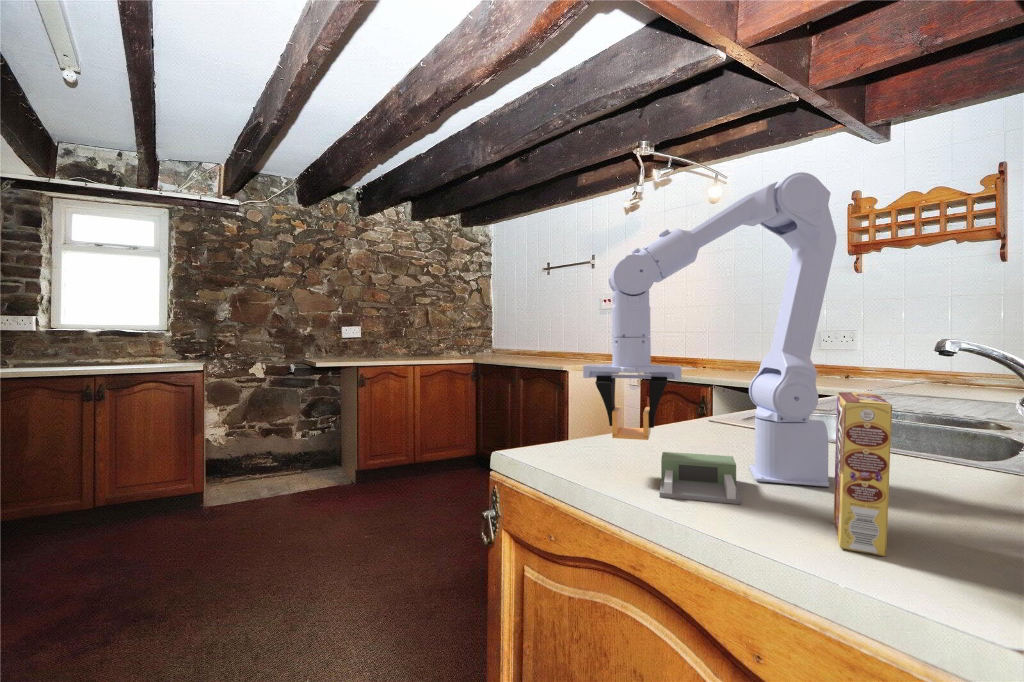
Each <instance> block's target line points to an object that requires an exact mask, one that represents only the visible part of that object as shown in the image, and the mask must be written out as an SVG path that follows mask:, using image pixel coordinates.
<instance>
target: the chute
mask: <svg viewBox="0 0 1024 682" xmlns="http://www.w3.org/2000/svg"><path fill="white" fill-rule="evenodd" d="M649 410H650V406H645V408H644V410H643V413H642V421H643V422H642V424H643V425H642V427H641V428H640V427H626V426H625V427H623V426H622V405H615V409H614V410H613V411H612V426H611V428H612V429H611V431H612V434H611V435H612V439H622V440H623V439H624V440H640V441H641V440H642V441H649V440H650V439H649V438H650V437H651V436H650V435H651V429H652V428H649Z"/></svg>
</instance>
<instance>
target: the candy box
mask: <svg viewBox="0 0 1024 682" xmlns="http://www.w3.org/2000/svg"><path fill="white" fill-rule="evenodd" d="M836 399H837V402H836V429H835V456H834V457H835V464H834V489H833V491H834V494H833V495H834V498H833V500H834V501H833V523H834V528H835V532H836V536H837V542H838V546H839V548H840V549H843V550H848V551H853V552H857V553H862V554H868V555H874V556H880V557H886V556H887V545H888V544H887V542H888V539H887V538H888V523H889V522H888V521H889V520H888V518H889V517H888V515H889V514H888V513H889V496H890V495H889V494H890V493H889V491H890V487H889V486H890V465H891V464H890V463H891V442H892V441H891V438H892V437H891V436H892V424H893V423H892V419H893V404H891V403H890V402H889V401H887V400H886V399H885V398H883V397H882V396H881V395H879V394H877V393H876V394H875V393H870V392H852V391H850V392H843V391H842V392H841V391H840V392H837V397H836Z"/></svg>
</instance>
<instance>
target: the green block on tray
mask: <svg viewBox="0 0 1024 682" xmlns="http://www.w3.org/2000/svg"><path fill="white" fill-rule="evenodd" d="M660 463H661V467H660V468H661V469H660V470H661V471H660V473H661V475H660V477H661V478H660V479H661V480H660V487H659V498H665V499H666V498H667V499H676V500H677V499H678V500H688V501H689V500H690V501H700V502H710V503H719V504H720V503H723V504H730V505H731V504H734V505H742V504H741V503H742V501H741V500H742V499H741V497H740V494H739V490H738V487H737V463H736V461H735V458H734V456H732V455H720V454H717V455H716V454H701V453H687V452H686V453H685V452H675V451H674V452H671V451H662V454H661V462H660Z"/></svg>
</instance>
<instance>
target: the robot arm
mask: <svg viewBox="0 0 1024 682" xmlns="http://www.w3.org/2000/svg"><path fill="white" fill-rule="evenodd" d="M830 199H831V191H830V190H829V189H828V188H827V187H826V186H825V185H824V183H822V182H821V181H820V179H819V178H817V176H815V175H813V174H811V173H809V172H803V171H802V172H795V173H792V174H790V175H788V176H787V177H784V178H783V180H782V181H780V182H779V181H775V182H773V183H770V184H768V185H766V186H764V187H762V188H759V189H758V190H755V191H752V192H750V193H749V194H747V195H745V196H743V197H741V198H740V199H738V200H737V201H735V202H734V203H732V204H730V205H729V206H727V207H725V208H724V209H722V210H720V211H718V212H717V213H715V214H714V215H712V216H711V217H709V218H708V219H706V220H704V221H703V222H701V223H700V224H698V225H696V226H695V227H694V228H692V229H690V230H683V229H681V228H674V229H672V230H671V231H670V230H669V229H667V228H666V229H665V230H663V231H662V232H660V233H659V234H658V236H659V238H658V239H656V240H654V241H652V242H651V243H649V244H647V245H645V246H644V247H642V248H641V249H640V248H639V247H637V248H635V249H633V250H631V254H627V255H626V256H625V257H624V258H623V259H621V260H620V261H619V262H618V263H617V264H616V265H615V266H613V268H612V270H610V271H611V272H610V275H609V278H608V285H609V286H610V289H611V291H612V297H611V300H612V307H611V342H612V343H611V350H612V354H611V357H612V360H611V361H612V362H611V363H612V364H585V365H583V366H582V368H583V369H582V370H583V373H582V375H583V376H582V378H583V379H591V378H592V379H593V378H594V379H596V380H595V386H596V388H597V390H598V392H599V394H600V396H601V399H602V401H603V404H604V406H605V410H606V414H607V419H608V424H609V425H608V426H609V427H612V411H613V410H614V409H615V407H616V403H615V402H616V399H615V398H616V379H642V380H643V379H644V380H645V379H648V380H649V381H648V389H649V390H648V391H649V394H648V395H649V396H648V397H649V407H650V410H649V428H651V429H655V420H656V413H657V410H658V407H659V403H660V402H661V398H662V395H663V393H664V392H665V389H666V387H667V384H668V380H674V381H680V380H681V381H682V365H665V364H663V365H662V364H661V365H660V364H652V363H651V362H652V361H651V358H652V357H651V356H652V354H651V353H652V352H651V350H652V349H651V348H652V345H651V344H652V343H651V342H652V341H651V340H652V339H651V338H652V337H651V306H650V290H651V288H652V287H653V285H654V283H661V282H662V281H664V280H666V279H667V278H669V277H670V276H672V275H674V274H676V273H677V272H679V271H681V270H683V269H684V268H686V267H688V266H690V265H691V264H693V263H694V262H696V260H697V257H698V253H699V250H700V248H702V247H704V246H707V244H710V243H711V242H713V241H716V240H717V239H719V238H720V237H722V236H723V235H724V236H725V235H726V234H728V233H729V232H731V231H733V230H735V229H737V228H738V227H740V226H742V225H743V226H748V227H749V226H750V227H755V226H757V225H760V226H762V228H764V229H766V230H768V231H769V232H771V233H773V234H775V235H776V236H778V237H780V238H781V239H783V241H784V242H785V243H786V244H787V246H789V248H790V249H791V250H792V251H791V257H790V261H789V265H788V271H787V275H786V278H785V279H786V280H785V284H784V288H783V293H782V297H781V302H780V306H779V311H778V315H777V319H776V323H775V329H774V332H773V336H772V337H773V338H772V341H771V347H770V350H769V352H768V353H767V354H766V355H765V356H764V358H762V361H761V362H760V366H759V370H758V372H757V373H756V375H754V377H753V378H752V380H751V381H750V384H749V387H748V395H749V399H750V400H751V402H752V403H753V404H754V405H755V406H756V410H755V412H754V464H752V463H751V464H749V466H748V467H749V469H750V472H751V474H752V476H753V478H754V480H755V481H756V482H764V483H775V484H788V485H789V484H790V485H802V486H815V487H830V482H829V434H828V428H827V425H826V423H825V421H823V420H820V419H810V417H811V415H812V414H813V413H814V412H815V411H816V409H817V407H818V405H819V403H818V402H819V393H818V389H817V385H816V384H817V376H818V371H817V369H816V367H815V365H814V363H813V361H812V359H811V356H812V351H813V347H814V342H815V338H816V334H817V330H818V324H819V321H820V316H821V311H822V308H823V307H822V306H823V302H824V297H825V295H826V294H825V293H826V290H827V284H828V281H829V280H828V279H829V276H830V272H831V267H832V263H833V258H834V255H835V254H834V253H835V249H836V245H837V233H836V229H835V225H834V222H833V219H832V218H833V217H832V214H831V210H830V207H829V203H830ZM619 373H624V374H619ZM632 373H633V374H632Z"/></svg>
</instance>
